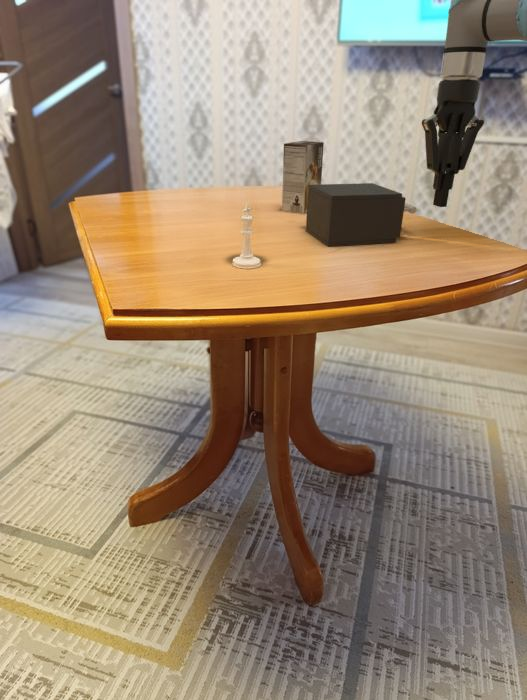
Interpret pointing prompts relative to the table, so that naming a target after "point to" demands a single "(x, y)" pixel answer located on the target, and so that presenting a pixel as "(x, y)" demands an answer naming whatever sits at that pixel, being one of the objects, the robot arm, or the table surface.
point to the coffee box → (300, 173)
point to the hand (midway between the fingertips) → (439, 205)
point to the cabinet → (353, 214)
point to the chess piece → (246, 244)
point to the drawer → (403, 209)
